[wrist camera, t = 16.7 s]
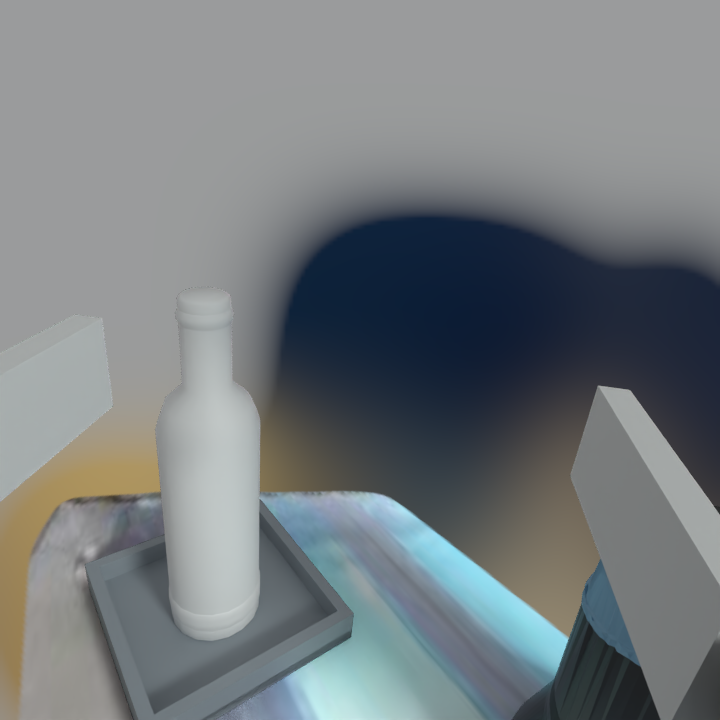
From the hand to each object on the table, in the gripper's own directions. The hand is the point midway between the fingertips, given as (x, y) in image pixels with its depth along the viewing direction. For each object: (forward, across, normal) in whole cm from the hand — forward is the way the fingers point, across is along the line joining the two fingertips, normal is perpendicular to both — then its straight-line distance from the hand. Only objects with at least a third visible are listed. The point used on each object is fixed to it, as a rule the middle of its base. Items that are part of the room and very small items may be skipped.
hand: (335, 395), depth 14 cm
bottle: (+21, -13, -35) cm, 43 cm away
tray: (+21, -13, -36) cm, 43 cm away
